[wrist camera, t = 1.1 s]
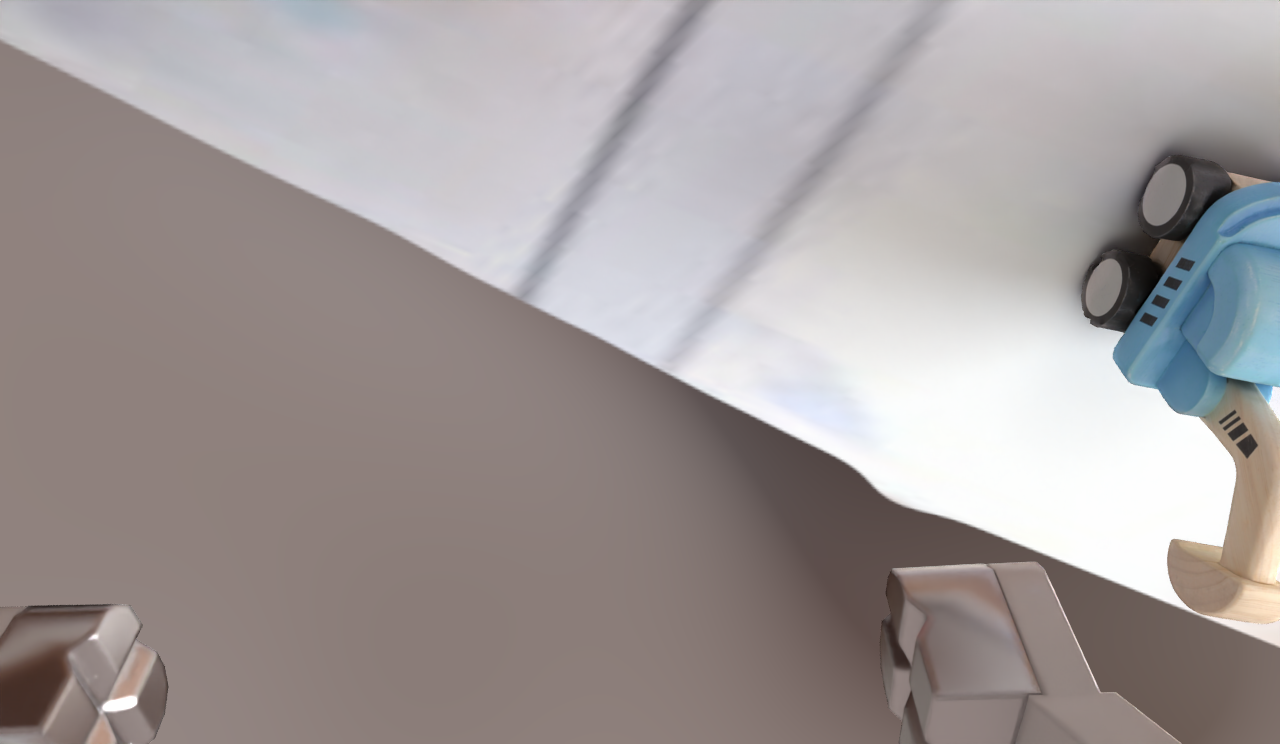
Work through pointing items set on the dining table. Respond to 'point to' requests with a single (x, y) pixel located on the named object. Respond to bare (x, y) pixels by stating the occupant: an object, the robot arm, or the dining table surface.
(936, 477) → the dining table surface
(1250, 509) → the toy excavator
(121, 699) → the robot arm
